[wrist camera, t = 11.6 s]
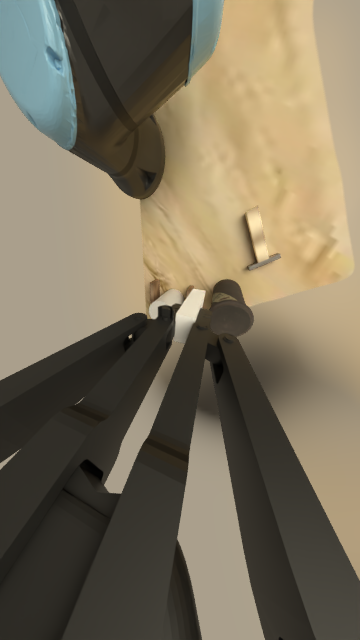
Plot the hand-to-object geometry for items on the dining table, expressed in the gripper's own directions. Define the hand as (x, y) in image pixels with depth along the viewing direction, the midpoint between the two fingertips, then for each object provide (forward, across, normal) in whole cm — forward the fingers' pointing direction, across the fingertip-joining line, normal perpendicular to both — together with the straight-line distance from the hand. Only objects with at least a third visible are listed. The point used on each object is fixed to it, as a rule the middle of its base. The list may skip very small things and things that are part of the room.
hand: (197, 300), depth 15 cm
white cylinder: (+29, -12, -14) cm, 34 cm away
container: (+29, +6, -7) cm, 30 cm away
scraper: (+29, +10, +8) cm, 31 cm away
